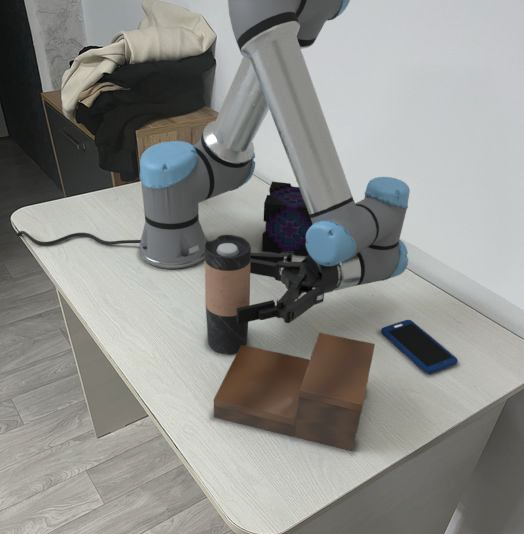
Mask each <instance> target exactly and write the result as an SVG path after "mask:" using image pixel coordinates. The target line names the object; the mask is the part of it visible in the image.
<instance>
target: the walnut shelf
mask: <svg viewBox="0 0 524 534" xmlns="http://www.w3.org/2000/svg"><path fill="white" fill-rule="evenodd" d="M375 346H376V344H375V343H372V342H367V341H362V340H357V339H353V338H348V337H343V336H339V335H338V336H337V335H333V334H328V333H324V332H318V334H317V338H316V340H315V343H314V346H313V350H312V352H311V356H310V358H305V357H300V356H295V355H292V354H286V353H281V352H279V351H278V352H277V351H272V350H268V349H263V348H259V347H255V346H249V345H246V346H245V345H241V346H240V348H239V350H238V352H237V353H235V356H234V357H233V360H232V362H231V364H230V366H229V368H228V370H227V372H226V375H225V376H224V378H223V380H222V382H221V383H220V385H219V388H218V390H217V392H216V394H215V395H214V398H213V418H215V419H220V420H224V421H228V422H232V423H236V424H240V425H243V426H244V425H245V426H249V427H252V428H256V429H260V430H265V431H269V432H273V433H277V434H281V435H285V436H290V437H293V438H296V439H302V440H305V441H308V442H309V441H310V442H312V443H313V442H314V443H318V444H321V445H325V446H330V447H334V448H339V449H342V450H345V451H351V452H353V449H354V446H355V442H356V441H355V440H356V437H357V432H358V429H359V423H360V419H361V415H362V411H363V407H364V401H365V398H366V397H365V396H366V391H367V388H368V387H367V386H368V381H369V376H370V372H371V366H372V361H373V356H374V351H375Z"/></svg>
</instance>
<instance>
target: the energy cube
mask: <svg viewBox="0 0 524 534" xmlns="http://www.w3.org/2000/svg"><path fill="white" fill-rule="evenodd" d="M268 192H269V194H266V196H265V199H264V203H263V222H264V223H265V228H264V229H265V230H264V231H263V233H262V239H261V252H263V253H273V254H282V253H283V252H287V253H292V254H293V255H294V256H298V257H306V256H307V255H309V253H308V251H307V248H306V238H305V237H306V233H307V231H308V229H309V228H310V227H311V226H312V225H313V224H312V221H311V218H310V215H309V212H308V210H307V207H306V204H305V202H304V199H303V196H302V194H301V191H300V188H299V186H293V185H292V184H291V183H290V182H281V181H280V182H279V181H271V183H270V186H269V189H268Z"/></svg>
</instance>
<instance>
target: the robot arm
mask: <svg viewBox="0 0 524 534" xmlns="http://www.w3.org/2000/svg"><path fill="white" fill-rule="evenodd" d="M350 3H351V0H227V6H228V16H229V20H230V25H231V29H232V33H233V35H234V36H233V37H234V39H235V41H236V44H237V47H238V49H239V52H240V54H241V56H243V57H242V59H241V60H240V61H241V62H240V63H239V66H238V67H237V71H236V72H235V75H234V78H233V80H232V82H231V84H230V86H229V89H228V92H227V93H226V96H225V98H224V101H223V103H222V105H221V107H220V110H219V113H218V115H217V117H216V119H215V120H214V121H211V122H209V123H207V124H206V125H205V127H204V129H203V130H202V133H201V135H200V138H199V140H198V141H197V142H196V143H194V144H191V143H190V142H187V141H184V140H183V141H182V140H172V141H161V142H158V143H155V144H153V145H151V146H149V147H148V148H146V149H145V150H144V152H142V154H141V156H140V160H139V180H140V184H141V192H142V193H141V194H142V201H143V202H142V205H143V213H144V226H143V230H142V234H141V239H124V240H123V239H122V240H113V241H111V240H104V239H100V238H99V237H98V236H95V234H92V233H89V232H75V233H71V234H67V235H64V236H62V237H60V238H57V239H54V240H50V241H42V240H41V241H40V240H37V239H35V238H34V237H32V236H31V235H30V234H29V233H28V232H26V231H24V230H20V231H18V232H17V233H16V236H17V237H20V236H21V235H23V236H24V237H26V238H27V239H29V241H31V242H33V243H34V244H36V245H39V246H40V245H41V246H49V245H55V244H58V243H61V242H65V241H66V240H68V239H72V238H75V237H89V238H91V239H93V240H94V241H96V242H98V243H100V244H103V245H109V246H111V245H122V244H139V252H140V253H139V254H140V257H141V259H142V260H143V261H144V262H145V263H147V264H148V265H151V266H153V267H156V268H160V269H165V270H166V269H167V270H169V269H170V270H178V269H185V268H189V267H193V266H195V265H197V264H199V263H202V261H204V260H205V250H204V248H205V243H206V242H207V241H208V240H207V238H206V235H205V233H204V230H203V227H202V224H201V222H200V217H199V216H200V214H199V204H200V203H202V202H205V201H207V200H210V199H212V198H215V197H217V196H220V195H222V194H225V193H228V192H231V191H232V192H233V191H235V190H237V189H239V188H241V187H242V186H244V185H246V184H247V183H248V182H249V181H250V180H251V178H252V177H253V175H254V172H255V169H256V161H254V160H255V158H256V153H255V146H254V142H253V141H254V139H255V138H256V135H257V134H258V131H259V129H260V128H261V126H262V124H263V122H264V120H265V118H266V116H267V115H268V112H270V114H271V117H272V120H273V123H274V125H275V128H276V131H277V133H278V136H279V138H280V141H281V143H282V147H283V149H284V151H285V154H286V157H287V160H288V162H289V165H290V167H291V170H292V172H293V175H294V178H295V180H296V183H297V187H299V188H300V191H301V194H302V196H303V199H304V202H305V204H306V207H307V210H308V212H309V215H310V218H311V221H312V224H313V225H312V226H311V227H310V228H309V229H308V231H307V233H306V237H305V238H306V248H307V251H308V253H309V255H307V256H305V257H304V258H303V260H301V261H294V260H293V252H284V253H283V252H282V253H272V252H256V251H255V252H254V251H253V252H252V251H251V259H250V274H253V275H258V276H264V277H269V278H273V279H274V280H275V281H277V282H280V283H282V284H283V285H284V286H285V288H286V289H287V290H286V291H285V292H284V294H283V295H282V296H281V297H280V298H279V299H276V302H275V300H274V299H271V300H267V301H263V302H258V303H254V304H249V306H244V307H240V308H237V321H236V322H237V323H238V324H241V323H246V322H248V323H251V322H254V321H258V320H260V321H264V320H268V319H273V318H277V319H282V320H283V322H284V324H291V323H292V322H294V321H295V320H296V319H297V318H299V317H300V316H301V315H303V314H305V313H306V312H307V311H309V309H311V308H313V307H314V306H316V305H319V304H322V303H323V302H324V300H325V294H327V293H332V292H334V291H339V290H343V289H348V288H352V287H357V286H363V285H367V284H372V283H376V282H381V281H387V280H389V279H392V278H395V277H397V276H400V275H402V274H403V273H404V272H405V271H406V269H407V267H408V264H409V257H408V254H409V252H408V251H409V250H408V249H407V245H406V244H405V243H404V242H403V240H401V235H402V230H403V226H404V222H405V218H406V214H407V209H408V208H409V206H408V205H409V199H410V191H411V189H410V187H409V185H408V184H407V183H406V182H405V181H403V180H402V179H398V178H396V177H391V176H377V177H374V178H372V179H370V180H369V181H368V183H367V184H366V189H365V191H364V199H361V200H359V201H357V202H355V200H354V197H353V194H352V191H351V189H350V185H349V183H348V179H347V177H346V174H345V171H344V168H343V166H342V163H341V159H340V156H339V154H338V151H337V149H336V146H335V142H334V140H333V137H332V135H331V134H332V133H331V131H330V129H329V126H328V123H327V119H326V117H325V114H324V112H323V109H322V105H321V103H320V100H319V97H318V95H317V91H316V88H315V86H314V83H313V80H312V77H311V74H310V72H309V69H308V65H307V63H306V59H305V58H304V54H303V51H302V50H303V49H308V48H311V47H312V46H313V45H314V43H315V42H316V40H317V38H318V36H319V34H320V32H321V31H322V29H323V28H324V25H325V24H326V22H327V21H332V20H335V19H336V18H338V17H339V16H340V15H342V14H343V13H344V12H345V10H346V9H347V7H348V6H349V4H350ZM281 269H282V270H281Z"/></svg>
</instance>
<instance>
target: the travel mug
mask: <svg viewBox="0 0 524 534" xmlns="http://www.w3.org/2000/svg"><path fill="white" fill-rule="evenodd" d="M251 249H252V247H251V244H250V242H249V241H248V240H247V239H246V238H244V237H241V236H238V235H235V234H233V235H232V234H221V235H218V236H217V237H216V238H215V239H212V240H210V241H209V240H207V242H206V243H205V248H204V250H205V259H204V292H205V293H204V294H205V295H204V297H205V301H204V302H205V314H206V315H205V316H206V317H205V318H206V332H207V333H206V334H207V343H208V346H209V348H210V349H211V350H212V351H214V352H216V353H218V354H221V355H234V354H237V352H238V350H239V348H240V346H241V345H245V346H247V342H248V333H249V322H246V323H241V324H238V323H237V322H236V321H237V308H240V307H244V306H249V305H251V304H250V301H251V299H250V298H251V273H250V259H251V252H252V251H251Z"/></svg>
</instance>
